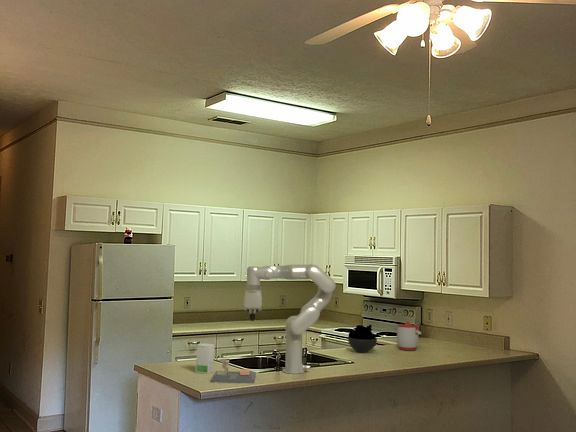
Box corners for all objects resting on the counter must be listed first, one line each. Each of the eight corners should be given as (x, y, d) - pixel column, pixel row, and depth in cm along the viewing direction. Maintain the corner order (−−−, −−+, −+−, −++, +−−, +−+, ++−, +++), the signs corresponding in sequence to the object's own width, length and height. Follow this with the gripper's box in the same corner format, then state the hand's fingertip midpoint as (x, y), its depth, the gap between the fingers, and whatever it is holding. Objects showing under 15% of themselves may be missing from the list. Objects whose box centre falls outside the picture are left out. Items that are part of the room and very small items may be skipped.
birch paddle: (228, 371, 335) (229, 359, 336) (228, 372, 332) (228, 361, 333) (222, 371, 335) (222, 359, 336) (221, 372, 332) (221, 360, 333)
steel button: (227, 375, 325) (227, 371, 325) (226, 377, 320) (226, 373, 320) (218, 375, 325) (218, 371, 325) (216, 377, 320) (217, 373, 320)
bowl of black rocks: (349, 354, 410) (349, 326, 411) (346, 349, 430) (346, 322, 431) (378, 355, 410) (379, 326, 411) (374, 350, 430) (374, 323, 431)
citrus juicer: (416, 352, 424) (416, 323, 425) (392, 349, 433) (393, 321, 434) (424, 349, 437) (424, 321, 438) (401, 347, 446) (401, 319, 447)
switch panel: (255, 375, 337) (255, 369, 337) (253, 383, 318) (254, 376, 318) (215, 374, 337) (216, 368, 337) (211, 382, 318) (211, 375, 318)
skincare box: (195, 372, 342) (196, 344, 343) (201, 370, 348) (201, 342, 349) (208, 373, 339) (209, 345, 340) (214, 371, 345) (214, 343, 346)
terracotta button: (250, 373, 325) (250, 369, 325) (249, 375, 320) (249, 371, 320) (240, 373, 325) (240, 369, 325) (239, 375, 320) (240, 371, 320)
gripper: (266, 288, 352) (265, 320, 351) (240, 287, 352) (239, 319, 351) (266, 288, 344) (265, 321, 343) (239, 288, 344) (238, 321, 343)
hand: (252, 320), depth 347 cm, fingers closed
